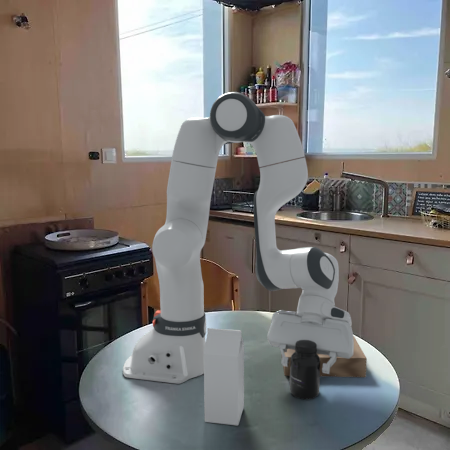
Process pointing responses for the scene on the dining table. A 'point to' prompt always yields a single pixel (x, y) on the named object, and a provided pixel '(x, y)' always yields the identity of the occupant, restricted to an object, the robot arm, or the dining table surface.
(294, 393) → the supplement bottle
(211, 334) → the milk carton
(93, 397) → the dining table surface
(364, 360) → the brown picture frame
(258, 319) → the dining table surface
